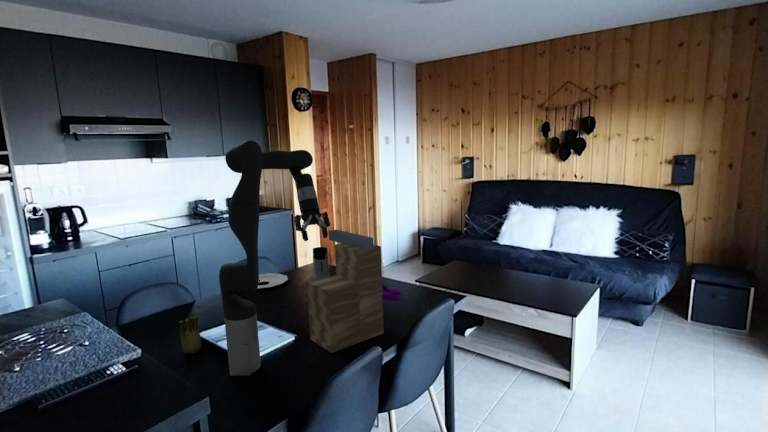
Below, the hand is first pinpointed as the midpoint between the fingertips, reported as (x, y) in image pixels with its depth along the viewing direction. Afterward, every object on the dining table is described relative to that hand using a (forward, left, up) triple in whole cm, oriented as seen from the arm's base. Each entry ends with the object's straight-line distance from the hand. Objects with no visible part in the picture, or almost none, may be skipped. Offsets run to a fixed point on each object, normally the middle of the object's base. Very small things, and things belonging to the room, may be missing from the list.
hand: (316, 239), depth 167 cm
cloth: (+20, -26, -32) cm, 46 cm away
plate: (+44, +36, -32) cm, 65 cm away
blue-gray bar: (-13, -15, +1) cm, 20 cm away
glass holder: (+52, +6, -31) cm, 61 cm away
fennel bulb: (-30, +38, -31) cm, 58 cm away
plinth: (-21, -13, -31) cm, 40 cm away
